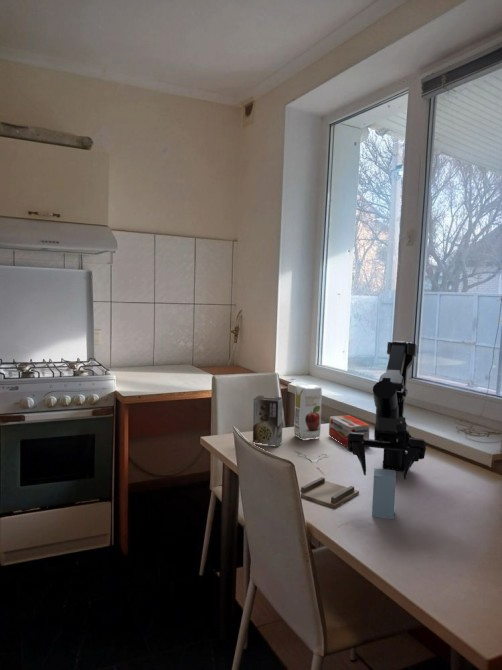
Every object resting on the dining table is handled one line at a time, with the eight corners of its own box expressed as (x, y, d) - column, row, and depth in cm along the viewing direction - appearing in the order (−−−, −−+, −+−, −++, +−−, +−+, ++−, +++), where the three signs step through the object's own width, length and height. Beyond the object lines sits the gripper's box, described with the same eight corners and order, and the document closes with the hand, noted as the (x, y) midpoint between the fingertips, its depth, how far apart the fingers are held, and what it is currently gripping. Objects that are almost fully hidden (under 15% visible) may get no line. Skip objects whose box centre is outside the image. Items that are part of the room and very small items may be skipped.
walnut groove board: (295, 495, 131) (295, 487, 131) (321, 482, 140) (321, 475, 140) (334, 508, 123) (335, 500, 123) (358, 493, 133) (359, 486, 133)
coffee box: (282, 442, 176) (283, 397, 175) (277, 447, 170) (278, 400, 169) (257, 439, 179) (258, 394, 178) (251, 444, 173) (253, 398, 172)
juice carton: (291, 435, 185) (293, 384, 183) (311, 433, 188) (313, 383, 187) (301, 441, 178) (303, 388, 176) (322, 439, 181) (324, 387, 180)
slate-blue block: (371, 516, 120) (373, 475, 119) (372, 507, 124) (374, 468, 124) (393, 519, 118) (395, 477, 118) (393, 510, 123) (395, 470, 122)
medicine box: (328, 437, 185) (329, 415, 185) (347, 435, 188) (348, 414, 187) (349, 449, 171) (350, 426, 170) (370, 447, 174) (371, 425, 173)
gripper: (349, 400, 127) (344, 456, 118) (427, 407, 123) (428, 465, 113) (350, 423, 136) (345, 477, 126) (423, 430, 131) (424, 487, 121)
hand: (384, 476), depth 121 cm, fingers open, 9 cm apart
